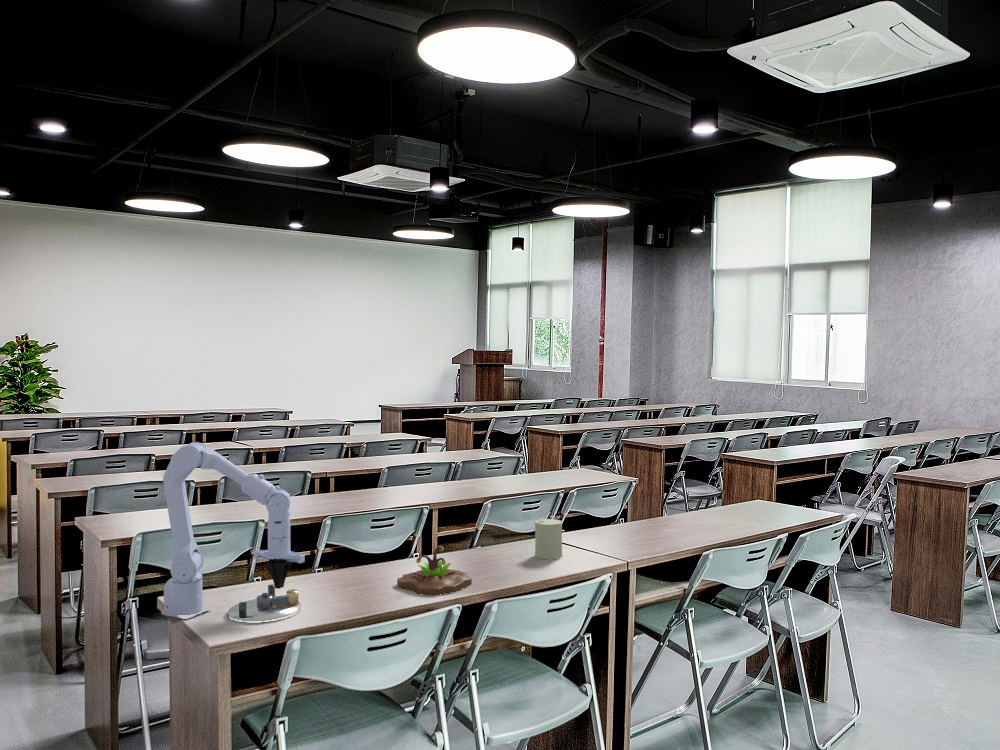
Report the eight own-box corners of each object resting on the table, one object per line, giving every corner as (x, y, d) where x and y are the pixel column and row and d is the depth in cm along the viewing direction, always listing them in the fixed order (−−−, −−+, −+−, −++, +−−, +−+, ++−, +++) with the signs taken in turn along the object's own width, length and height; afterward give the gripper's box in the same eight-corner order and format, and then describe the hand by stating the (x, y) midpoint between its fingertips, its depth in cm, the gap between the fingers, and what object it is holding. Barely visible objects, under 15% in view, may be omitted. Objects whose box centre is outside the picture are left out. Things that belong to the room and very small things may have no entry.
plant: (483, 585, 220) (483, 546, 220) (432, 600, 206) (432, 559, 206) (438, 572, 234) (438, 536, 234) (388, 585, 220) (387, 547, 220)
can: (530, 554, 254) (530, 518, 253) (556, 551, 256) (556, 516, 256) (540, 560, 245) (540, 524, 245) (566, 558, 248) (566, 522, 247)
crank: (257, 609, 194) (257, 597, 194) (256, 605, 198) (256, 592, 198) (299, 604, 198) (299, 592, 198) (297, 600, 202) (297, 588, 202)
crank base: (212, 616, 193) (212, 598, 193) (265, 597, 209) (265, 580, 209) (264, 628, 185) (264, 608, 184) (315, 606, 200) (314, 588, 200)
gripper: (246, 537, 198) (246, 588, 199) (293, 541, 194) (293, 594, 194) (263, 531, 205) (263, 581, 205) (309, 535, 200) (309, 586, 200)
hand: (279, 587), depth 200 cm, fingers closed
